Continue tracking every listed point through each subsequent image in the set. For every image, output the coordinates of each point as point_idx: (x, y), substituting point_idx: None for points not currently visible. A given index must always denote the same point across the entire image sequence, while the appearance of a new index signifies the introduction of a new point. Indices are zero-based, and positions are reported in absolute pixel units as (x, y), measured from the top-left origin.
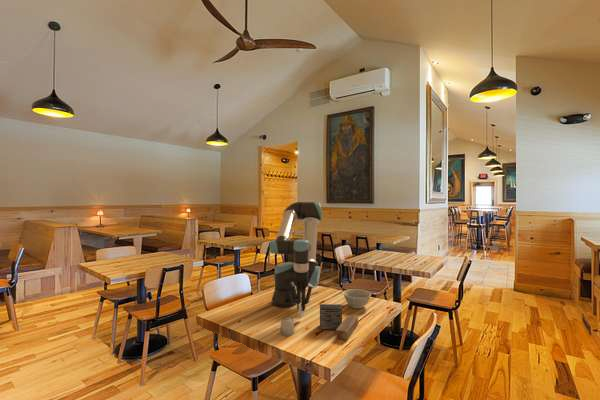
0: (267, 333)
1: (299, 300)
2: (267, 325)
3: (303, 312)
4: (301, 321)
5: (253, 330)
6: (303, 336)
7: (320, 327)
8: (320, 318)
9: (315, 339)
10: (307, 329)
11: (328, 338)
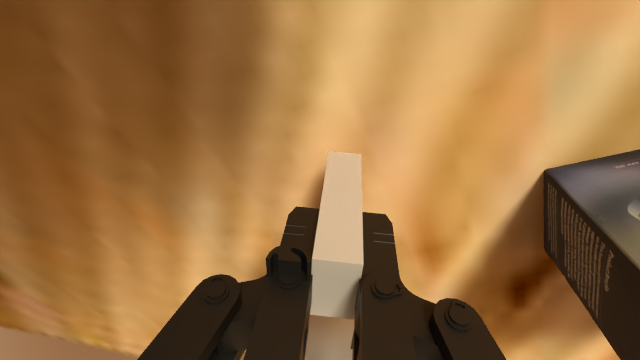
0: None
1: (285, 311)
2: (167, 279)
3: (361, 177)
4: None
5: (152, 330)
6: None
7: (558, 266)
8: (607, 337)
9: (512, 340)
10: (440, 263)
11: None
